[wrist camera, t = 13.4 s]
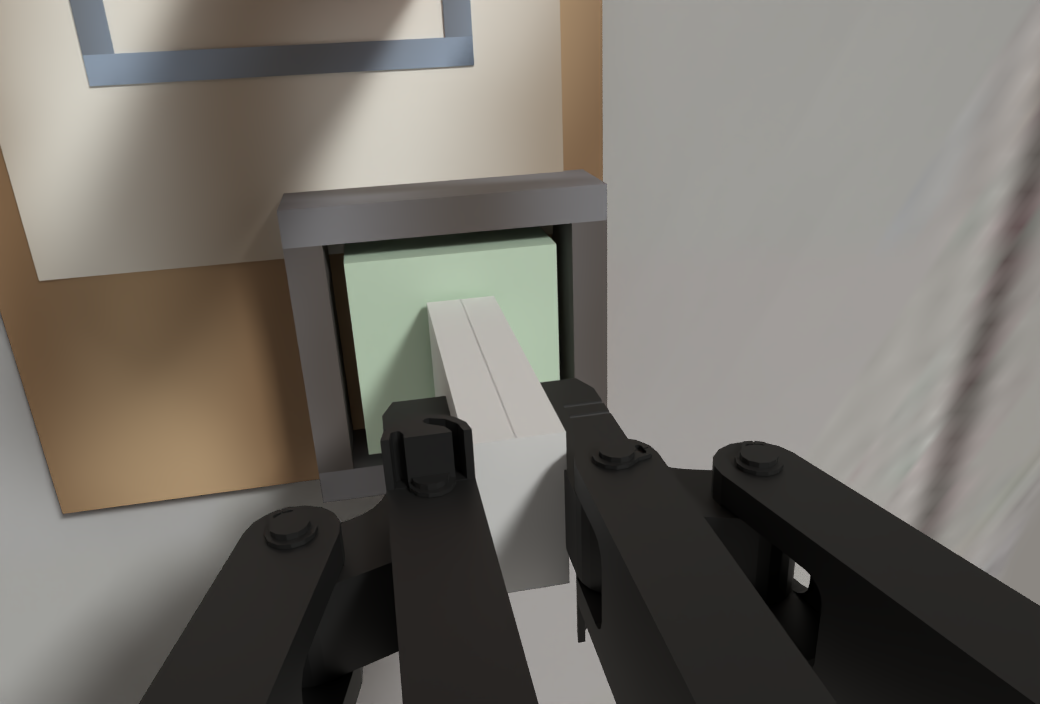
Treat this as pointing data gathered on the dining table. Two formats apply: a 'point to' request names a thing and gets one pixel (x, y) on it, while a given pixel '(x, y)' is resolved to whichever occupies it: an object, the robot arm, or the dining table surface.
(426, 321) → the button
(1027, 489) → the dining table surface
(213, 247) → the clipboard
